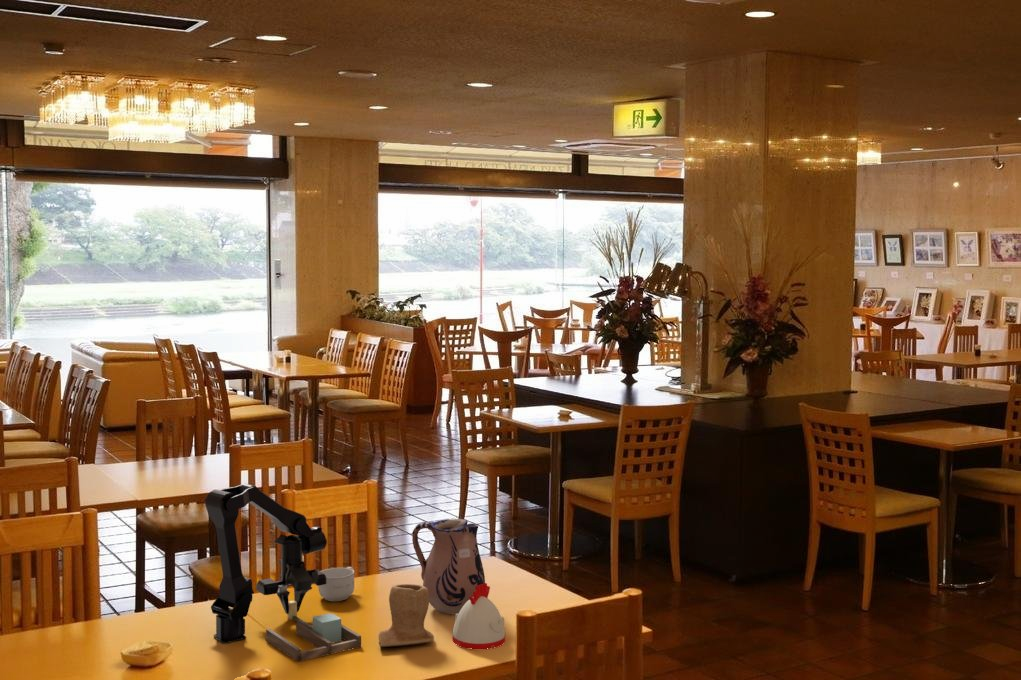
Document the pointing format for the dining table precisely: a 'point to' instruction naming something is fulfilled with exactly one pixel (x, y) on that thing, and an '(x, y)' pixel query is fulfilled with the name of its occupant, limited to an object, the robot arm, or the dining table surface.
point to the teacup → (337, 584)
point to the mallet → (319, 623)
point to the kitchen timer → (479, 622)
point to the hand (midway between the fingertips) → (291, 612)
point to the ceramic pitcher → (450, 563)
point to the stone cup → (407, 616)
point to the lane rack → (313, 642)
